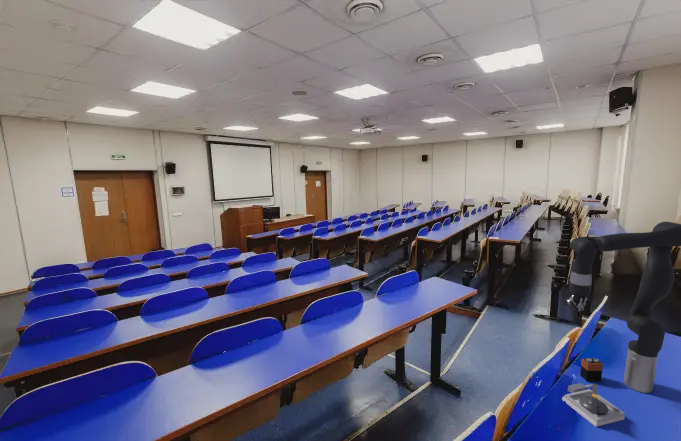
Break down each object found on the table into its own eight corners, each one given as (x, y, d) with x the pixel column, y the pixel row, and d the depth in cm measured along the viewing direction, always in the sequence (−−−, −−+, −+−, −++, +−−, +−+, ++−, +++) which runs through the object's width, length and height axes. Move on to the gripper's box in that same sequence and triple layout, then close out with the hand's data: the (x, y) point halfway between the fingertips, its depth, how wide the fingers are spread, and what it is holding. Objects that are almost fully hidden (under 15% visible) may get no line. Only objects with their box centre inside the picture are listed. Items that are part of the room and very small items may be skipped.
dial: (579, 394, 128) (581, 375, 127) (607, 404, 122) (610, 384, 121) (578, 411, 120) (580, 391, 118) (607, 423, 114) (610, 402, 112)
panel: (588, 393, 131) (589, 387, 130) (624, 419, 117) (625, 412, 117) (562, 399, 128) (562, 393, 128) (595, 426, 115) (596, 419, 114)
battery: (579, 375, 142) (581, 356, 141) (593, 375, 142) (596, 356, 141) (586, 381, 138) (588, 362, 136) (601, 381, 138) (603, 362, 136)
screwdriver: (573, 395, 131) (573, 389, 130) (567, 391, 133) (568, 385, 133) (597, 389, 134) (598, 383, 133) (591, 385, 136) (591, 379, 136)
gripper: (576, 286, 129) (573, 323, 132) (601, 282, 132) (598, 319, 134) (560, 280, 136) (558, 316, 139) (584, 277, 139) (581, 311, 142)
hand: (578, 317), depth 137 cm, fingers closed
